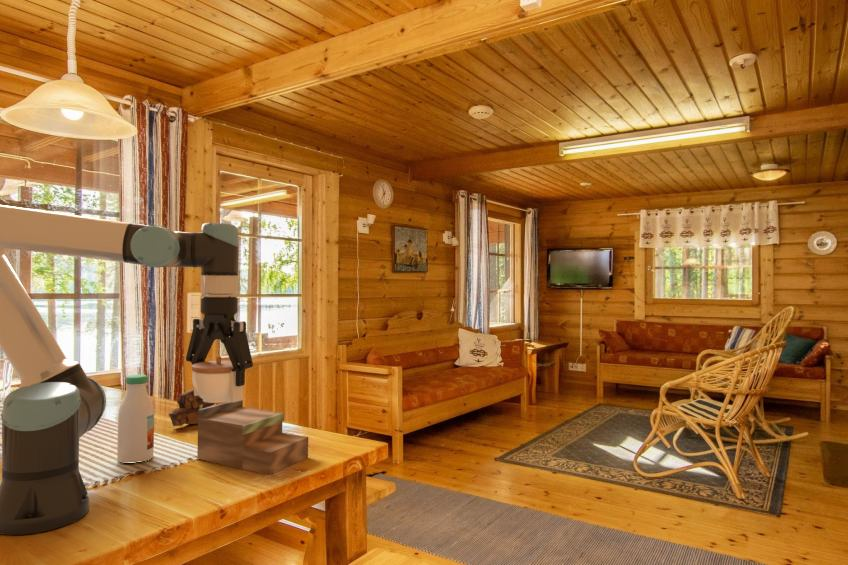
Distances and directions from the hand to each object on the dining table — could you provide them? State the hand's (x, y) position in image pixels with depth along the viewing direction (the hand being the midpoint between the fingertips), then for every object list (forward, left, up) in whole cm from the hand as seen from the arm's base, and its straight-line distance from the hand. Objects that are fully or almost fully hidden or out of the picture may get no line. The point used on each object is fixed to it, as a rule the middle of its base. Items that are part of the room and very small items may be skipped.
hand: (218, 397), depth 125 cm
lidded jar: (0, 0, -1) cm, 1 cm away
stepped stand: (+15, +3, -18) cm, 24 cm away
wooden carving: (+31, +40, -18) cm, 54 cm away
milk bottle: (+1, +27, -18) cm, 32 cm away
